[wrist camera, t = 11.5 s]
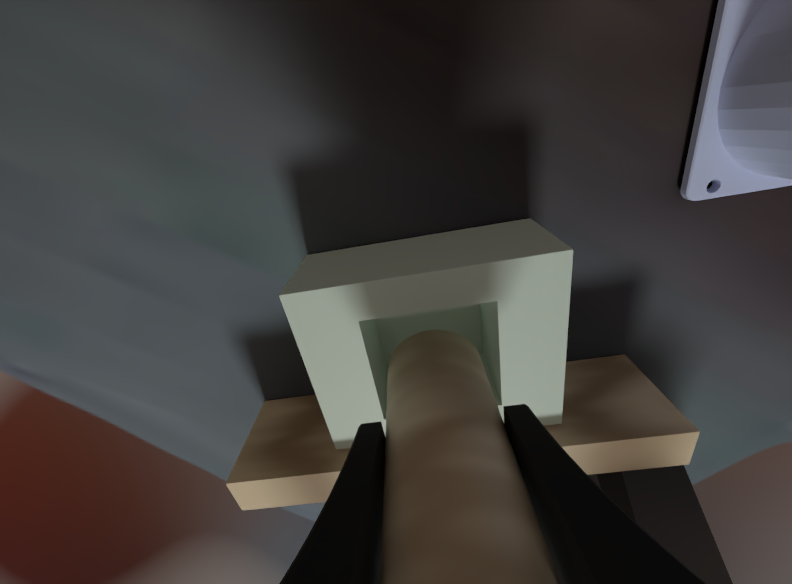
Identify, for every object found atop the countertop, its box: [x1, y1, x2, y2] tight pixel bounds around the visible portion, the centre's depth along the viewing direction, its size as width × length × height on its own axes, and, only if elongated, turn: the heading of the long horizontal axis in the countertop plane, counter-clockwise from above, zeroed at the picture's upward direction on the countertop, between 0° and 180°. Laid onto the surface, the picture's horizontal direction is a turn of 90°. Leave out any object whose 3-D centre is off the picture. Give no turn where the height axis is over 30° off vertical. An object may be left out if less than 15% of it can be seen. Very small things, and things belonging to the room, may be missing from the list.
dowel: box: [380, 330, 560, 584], centre depth 9 cm, size 4×4×8 cm
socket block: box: [279, 218, 573, 450], centre depth 15 cm, size 10×8×4 cm
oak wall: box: [226, 354, 700, 510], centre depth 17 cm, size 20×2×5 cm, turn 100°
